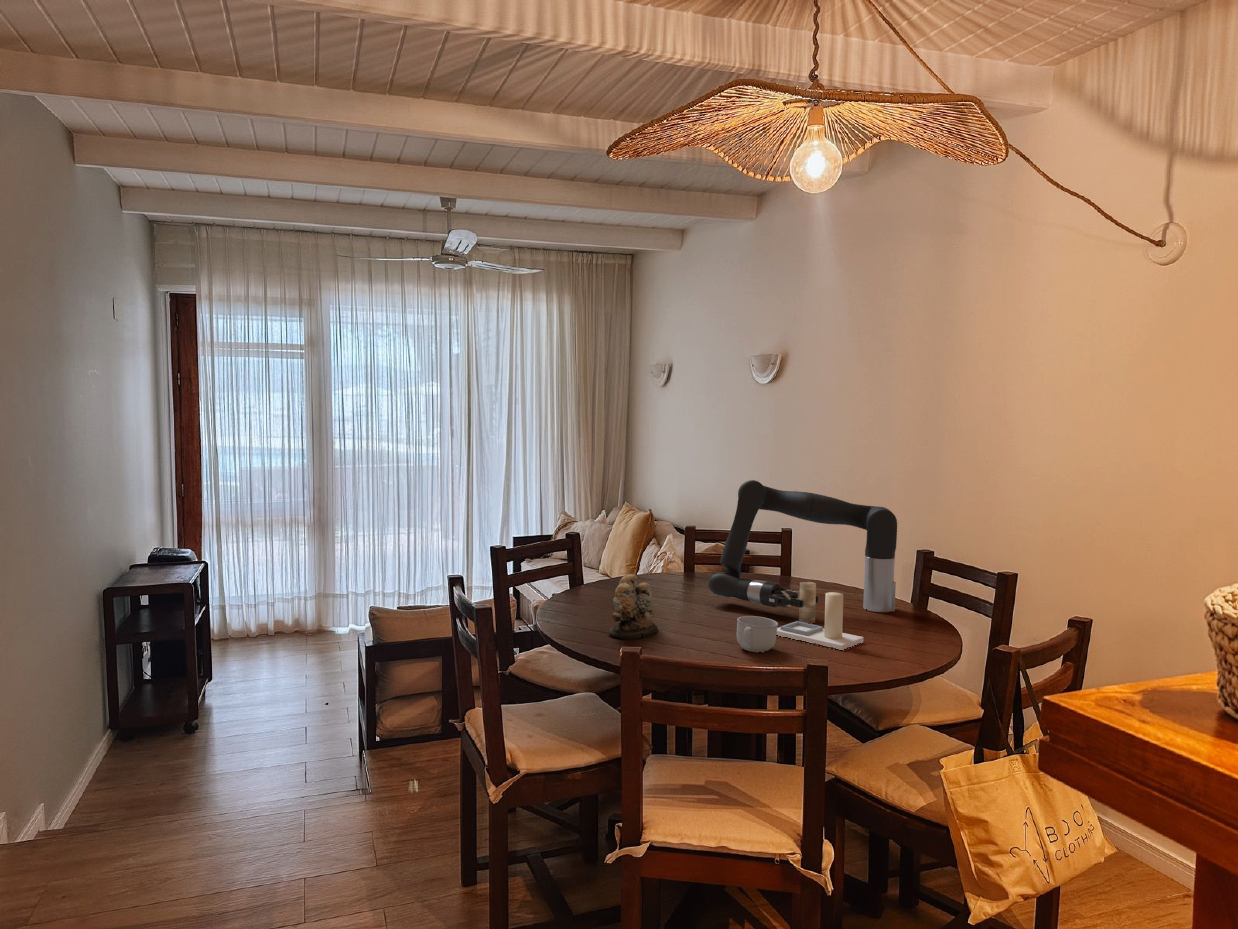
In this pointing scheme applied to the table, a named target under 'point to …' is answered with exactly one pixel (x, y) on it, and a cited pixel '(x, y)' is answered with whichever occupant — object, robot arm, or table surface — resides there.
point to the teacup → (756, 633)
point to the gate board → (822, 639)
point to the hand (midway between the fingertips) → (810, 601)
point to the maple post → (807, 602)
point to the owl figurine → (633, 610)
